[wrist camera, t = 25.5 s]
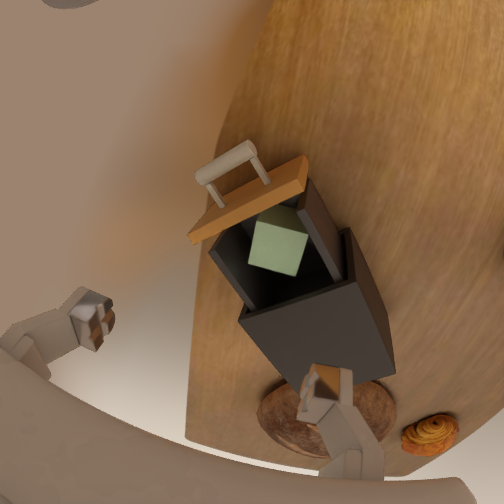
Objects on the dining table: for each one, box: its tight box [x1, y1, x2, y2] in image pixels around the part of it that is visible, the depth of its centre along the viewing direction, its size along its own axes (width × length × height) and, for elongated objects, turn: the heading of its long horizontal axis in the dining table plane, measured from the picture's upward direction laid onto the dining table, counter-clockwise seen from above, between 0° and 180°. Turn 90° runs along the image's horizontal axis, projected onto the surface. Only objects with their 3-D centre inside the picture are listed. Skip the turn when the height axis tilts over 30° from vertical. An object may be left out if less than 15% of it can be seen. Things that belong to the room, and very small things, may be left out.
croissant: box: [401, 414, 459, 457], centre depth 50 cm, size 14×16×8 cm
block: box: [248, 204, 309, 276], centre depth 32 cm, size 5×5×5 cm
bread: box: [257, 381, 397, 458], centre depth 49 cm, size 26×27×10 cm
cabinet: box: [238, 227, 396, 395], centre depth 35 cm, size 15×13×11 cm
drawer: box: [187, 140, 348, 312], centre depth 30 cm, size 18×11×9 cm, turn 32°
